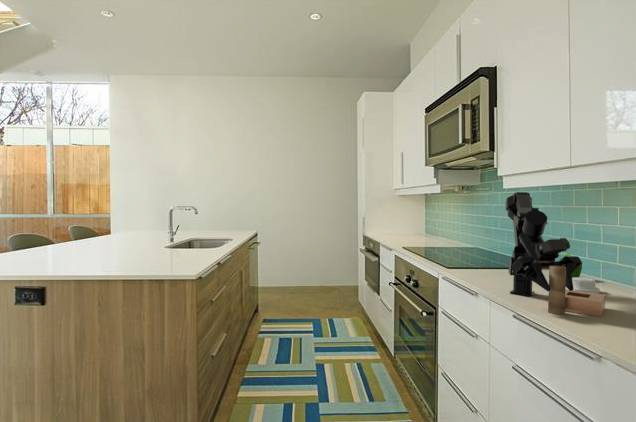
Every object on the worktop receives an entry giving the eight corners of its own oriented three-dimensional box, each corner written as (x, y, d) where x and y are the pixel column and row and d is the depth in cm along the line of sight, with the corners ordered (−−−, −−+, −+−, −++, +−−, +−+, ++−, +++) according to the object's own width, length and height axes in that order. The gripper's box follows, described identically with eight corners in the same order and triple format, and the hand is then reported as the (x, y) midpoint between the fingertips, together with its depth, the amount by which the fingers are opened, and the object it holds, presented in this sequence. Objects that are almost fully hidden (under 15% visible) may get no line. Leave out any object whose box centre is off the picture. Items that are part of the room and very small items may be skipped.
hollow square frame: (557, 301, 127) (558, 288, 127) (604, 308, 119) (605, 294, 119) (550, 308, 117) (551, 295, 117) (601, 316, 110) (601, 302, 110)
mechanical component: (586, 288, 148) (559, 288, 148) (586, 276, 148) (559, 276, 148) (606, 294, 138) (578, 294, 138) (607, 281, 138) (578, 281, 138)
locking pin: (549, 310, 116) (550, 264, 116) (565, 312, 113) (567, 266, 113) (546, 313, 113) (548, 266, 112) (563, 315, 110) (564, 268, 110)
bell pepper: (584, 281, 160) (584, 256, 160) (560, 279, 163) (560, 254, 163) (578, 277, 168) (579, 253, 168) (556, 276, 171) (556, 252, 171)
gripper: (518, 228, 115) (544, 273, 104) (578, 228, 118) (609, 273, 107) (501, 252, 123) (524, 296, 112) (557, 252, 126) (584, 295, 115)
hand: (560, 290), depth 112 cm, fingers open, 7 cm apart
